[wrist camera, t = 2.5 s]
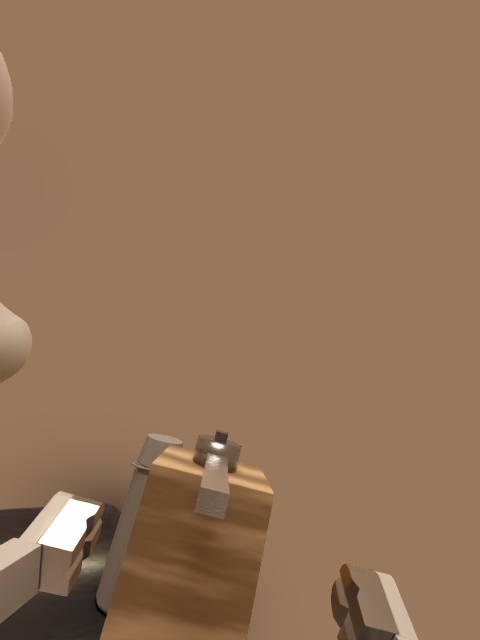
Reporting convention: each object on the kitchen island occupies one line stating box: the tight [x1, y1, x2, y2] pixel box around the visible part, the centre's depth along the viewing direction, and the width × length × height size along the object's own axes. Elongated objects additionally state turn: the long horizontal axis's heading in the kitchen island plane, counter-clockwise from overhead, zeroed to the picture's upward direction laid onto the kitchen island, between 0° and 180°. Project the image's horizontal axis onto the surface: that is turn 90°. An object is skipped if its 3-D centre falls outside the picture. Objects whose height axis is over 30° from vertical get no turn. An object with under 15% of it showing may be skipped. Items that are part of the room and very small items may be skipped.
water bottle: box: [96, 434, 183, 614], centre depth 50 cm, size 9×8×25 cm
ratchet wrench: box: [192, 430, 242, 520], centre depth 33 cm, size 20×6×4 cm, turn 4°
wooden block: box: [100, 445, 274, 640], centre depth 35 cm, size 12×14×26 cm
